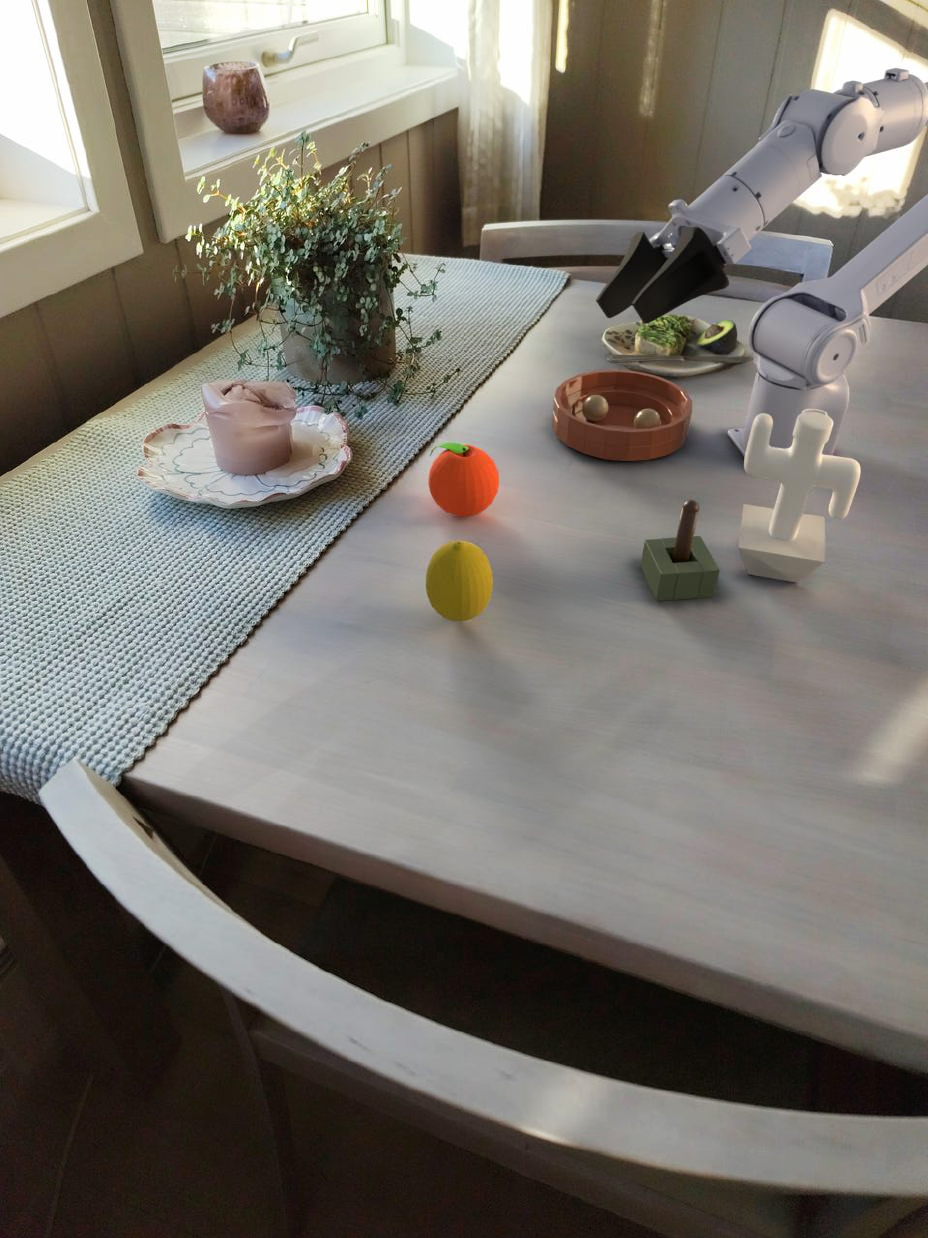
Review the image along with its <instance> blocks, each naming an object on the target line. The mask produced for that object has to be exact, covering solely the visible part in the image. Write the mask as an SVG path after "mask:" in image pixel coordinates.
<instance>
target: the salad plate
mask: <svg viewBox="0 0 928 1238" xmlns="http://www.w3.org/2000/svg"><path fill="white" fill-rule="evenodd" d="M600 342H601V344H602V345H604V347H605V348H606V350H607V351H608V353H610V354H609V355H608V356H607V362H609V363H611V364H615V365H622V366H626V367H627V368H628V369H629V370H631V371H637V372H642V373H646V374H651V375H655V376H663V377H670V378H688V377H693V376H697V375H702V374H709V373H717V372H721V371H725V370H728V369H731V368H733V367H735V366H738V365H742V364H746V363H749V362H752V361H754V358H753V357H751V356H746V352H747V351H746V346H745V345H744V343H742V342H741V341H739V340H738V329H737V324H736V323H735V322H734V321H733V320H730V319H725V320H722V321H718V322H716V324H710V323H708V322H707V321H705V320H703V319H700V318H698V317H694V316H690V315H685V314H684V315H683V314H665V315H663V316H661V317H660V318H658V319H656V320H654V321H652V322H650V323H648V324H645V323H643V321H642V320H641V319H640V320H638V321H633V322H626V323H622V324H618V325H613V326H610V327H608V328H606V329H605V331H604V332H603V334H602V337H601V339H600Z"/></svg>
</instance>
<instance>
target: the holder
mask: <svg viewBox="0 0 928 1238" xmlns="http://www.w3.org/2000/svg"><path fill="white" fill-rule="evenodd" d="M676 537H677V536H676ZM676 537H663V538H650V539H645V540H644V541H643V547H642V548H643V549H642V555H641V560H640V568H641V572H643V575H644V577H645V579H646V581H647V583H648V586H649V588H650V590H651V592H652V595H653V597H654V599H655V601H656V602H663V601H677V600H690V599H691V600H692V599H704V598H706V599H707V598H714V596H715V592H716V588H717V584H718V579H719V575H720V571H721V570H720V568H719V565H718V564H717V563H716V561H715V559H714V557H713V556H712V554H711V552H710V550H709V548H708V547H707V545H706V543H705V541H704V540H703V538H702V536H701V535H694V537H693V542H692V546H691V551H690V556H689V561H688V562H680V563H672V558H673V553H674V547H675V542H676Z"/></svg>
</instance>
